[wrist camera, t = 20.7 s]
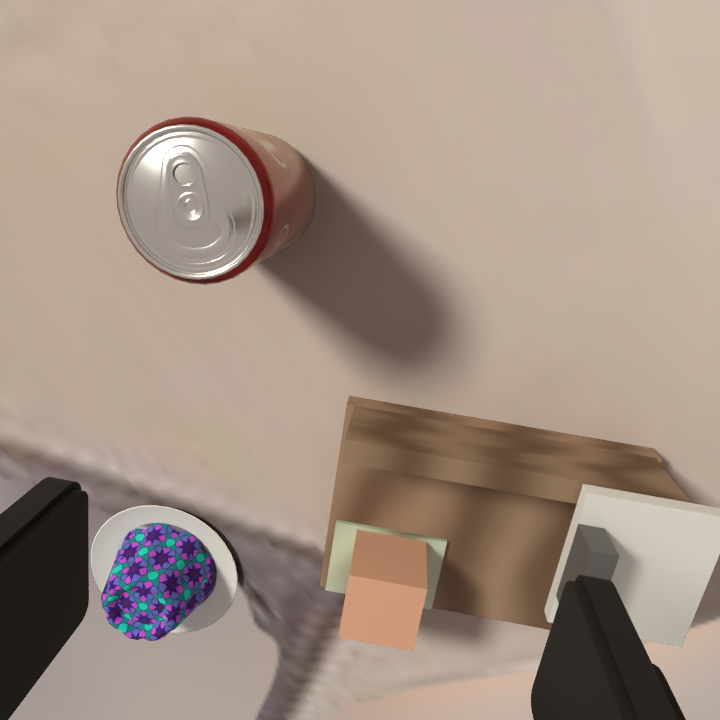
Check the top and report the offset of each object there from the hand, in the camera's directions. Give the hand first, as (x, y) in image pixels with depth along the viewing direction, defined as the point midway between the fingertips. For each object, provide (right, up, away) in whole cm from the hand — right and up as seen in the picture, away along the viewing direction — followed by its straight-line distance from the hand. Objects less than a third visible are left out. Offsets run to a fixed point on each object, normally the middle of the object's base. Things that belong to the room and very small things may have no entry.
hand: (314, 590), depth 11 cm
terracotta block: (+3, -10, +31) cm, 33 cm away
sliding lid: (+17, -8, +23) cm, 30 cm away
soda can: (-5, +15, +26) cm, 30 cm away
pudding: (-15, -12, +36) cm, 41 cm away
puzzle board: (+9, -7, +31) cm, 33 cm away
